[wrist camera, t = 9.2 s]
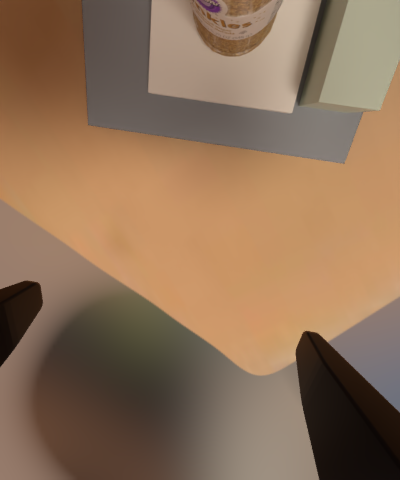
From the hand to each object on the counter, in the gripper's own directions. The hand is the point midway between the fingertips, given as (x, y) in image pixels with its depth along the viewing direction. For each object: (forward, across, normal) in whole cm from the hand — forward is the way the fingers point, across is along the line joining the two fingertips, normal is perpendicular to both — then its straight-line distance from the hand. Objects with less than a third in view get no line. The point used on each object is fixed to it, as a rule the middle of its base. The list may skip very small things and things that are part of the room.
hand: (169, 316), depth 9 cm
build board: (+13, 0, -12) cm, 17 cm away
